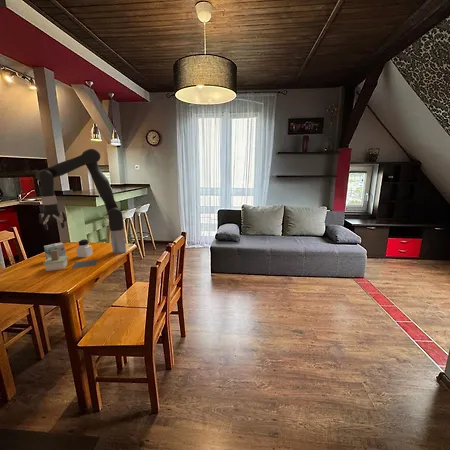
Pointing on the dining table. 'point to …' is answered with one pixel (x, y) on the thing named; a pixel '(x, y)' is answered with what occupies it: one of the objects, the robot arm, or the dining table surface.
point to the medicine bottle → (84, 248)
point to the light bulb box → (53, 247)
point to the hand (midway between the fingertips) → (55, 229)
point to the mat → (84, 264)
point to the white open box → (56, 266)
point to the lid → (55, 258)
